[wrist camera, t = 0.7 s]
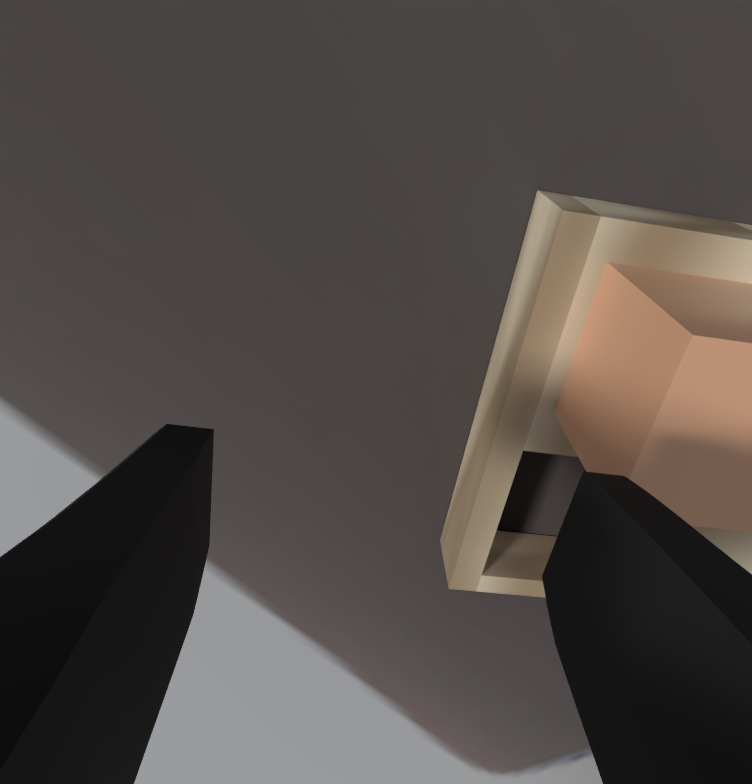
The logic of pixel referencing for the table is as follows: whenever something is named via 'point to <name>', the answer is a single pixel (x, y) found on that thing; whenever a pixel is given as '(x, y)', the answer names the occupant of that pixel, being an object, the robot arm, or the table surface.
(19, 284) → the table surface
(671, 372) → the block
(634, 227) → the trap board
